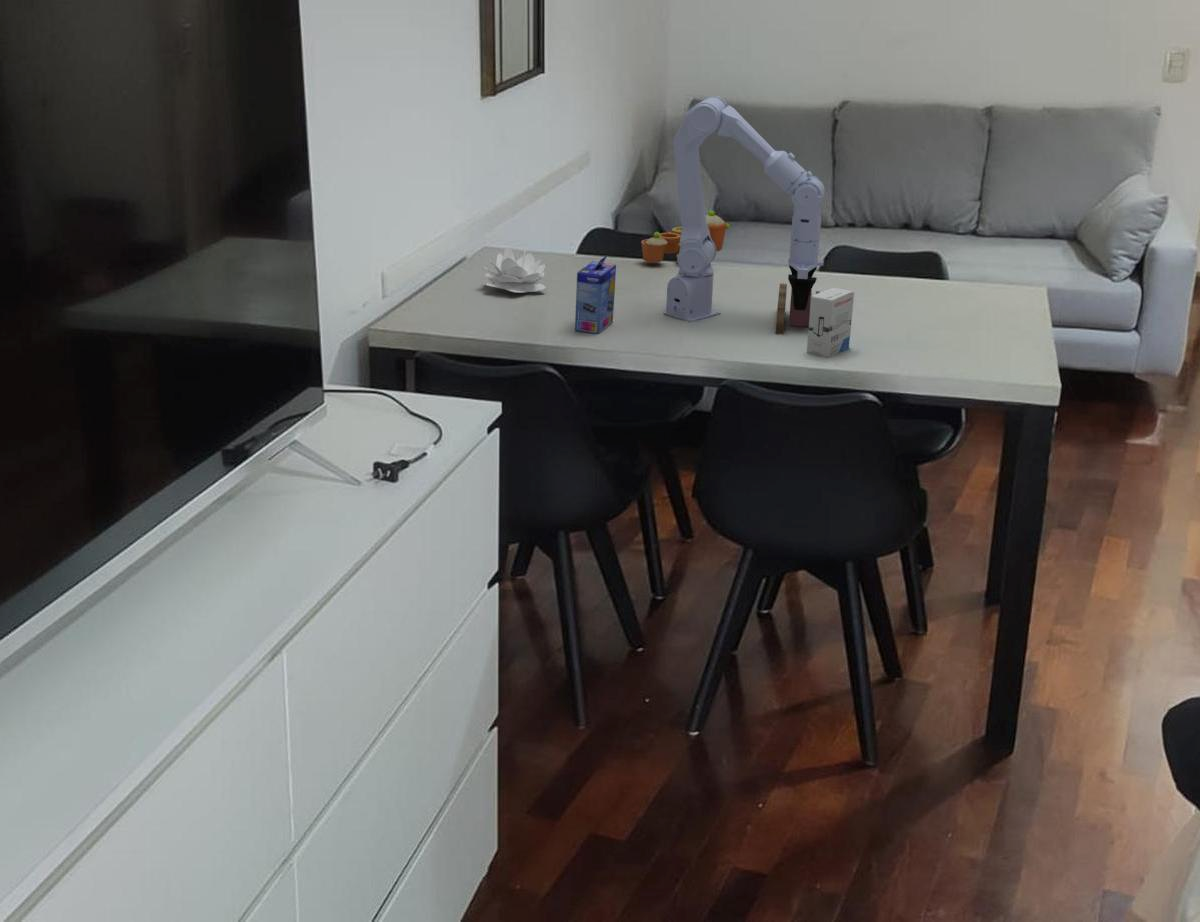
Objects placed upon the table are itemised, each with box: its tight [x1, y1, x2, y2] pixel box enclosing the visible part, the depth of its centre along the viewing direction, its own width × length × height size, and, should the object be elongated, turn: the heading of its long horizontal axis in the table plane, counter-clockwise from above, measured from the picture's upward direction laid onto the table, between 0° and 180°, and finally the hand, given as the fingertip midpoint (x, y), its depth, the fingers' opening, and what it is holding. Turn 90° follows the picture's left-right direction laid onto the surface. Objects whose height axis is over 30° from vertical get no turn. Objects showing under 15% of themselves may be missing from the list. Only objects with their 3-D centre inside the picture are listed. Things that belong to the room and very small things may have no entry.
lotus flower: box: [483, 246, 547, 294], centre depth 316 cm, size 14×15×9 cm
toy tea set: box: [640, 209, 731, 263], centre depth 347 cm, size 26×16×10 cm, turn 153°
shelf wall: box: [775, 282, 788, 335], centre depth 297 cm, size 18×2×6 cm, turn 172°
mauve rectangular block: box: [788, 288, 813, 328], centre depth 296 cm, size 5×4×7 cm
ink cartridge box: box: [574, 254, 617, 335], centre depth 289 cm, size 10×6×14 cm, turn 162°
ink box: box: [806, 287, 855, 358], centre depth 278 cm, size 9×5×12 cm, turn 141°
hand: (800, 304), depth 296 cm, fingers open, 7 cm apart
